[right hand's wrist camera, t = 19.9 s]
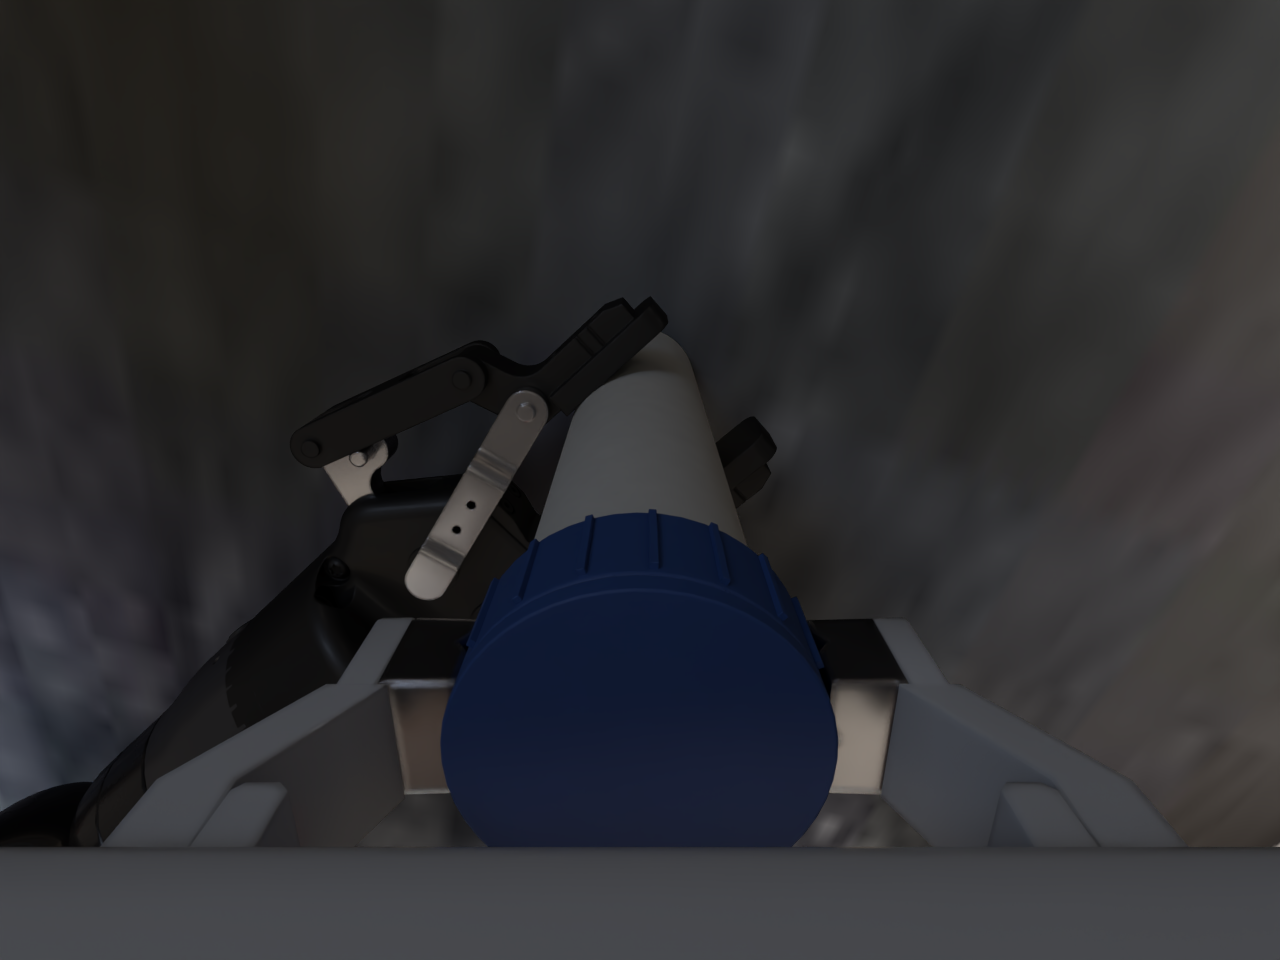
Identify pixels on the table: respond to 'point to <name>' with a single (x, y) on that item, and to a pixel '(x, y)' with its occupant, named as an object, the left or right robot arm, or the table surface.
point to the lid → (639, 695)
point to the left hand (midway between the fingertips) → (710, 373)
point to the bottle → (642, 449)
